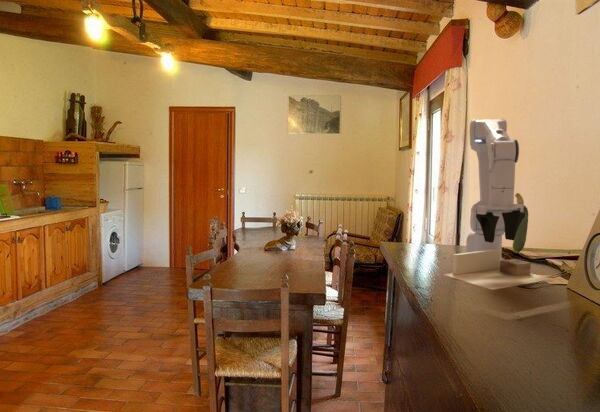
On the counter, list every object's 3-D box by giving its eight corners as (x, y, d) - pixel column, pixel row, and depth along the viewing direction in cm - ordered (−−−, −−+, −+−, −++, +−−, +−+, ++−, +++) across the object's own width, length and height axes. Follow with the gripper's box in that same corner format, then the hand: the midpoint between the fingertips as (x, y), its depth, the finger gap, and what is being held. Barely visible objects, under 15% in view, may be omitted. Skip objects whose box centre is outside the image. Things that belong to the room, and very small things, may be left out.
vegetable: (525, 253, 139) (528, 192, 137) (527, 255, 134) (530, 193, 133) (510, 252, 140) (512, 192, 138) (512, 254, 136) (514, 193, 134)
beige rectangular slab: (452, 273, 109) (453, 254, 108) (496, 266, 116) (496, 248, 115) (456, 274, 108) (456, 255, 107) (500, 267, 114) (500, 249, 114)
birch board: (443, 278, 108) (443, 274, 108) (500, 269, 117) (500, 265, 117) (491, 294, 94) (492, 289, 94) (552, 282, 103) (553, 278, 103)
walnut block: (499, 271, 110) (500, 260, 110) (512, 269, 112) (513, 258, 112) (516, 276, 106) (517, 264, 105) (530, 274, 108) (530, 262, 107)
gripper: (494, 189, 100) (492, 245, 102) (535, 188, 107) (532, 241, 108) (471, 188, 107) (469, 241, 108) (510, 186, 113) (508, 236, 114)
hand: (499, 240), depth 108 cm, fingers open, 7 cm apart
